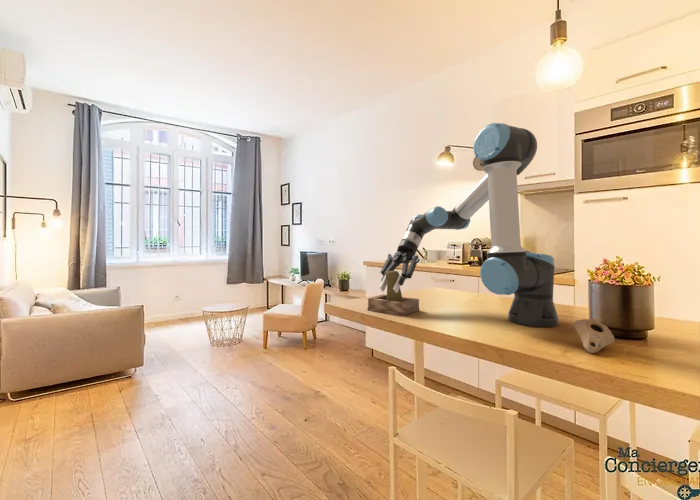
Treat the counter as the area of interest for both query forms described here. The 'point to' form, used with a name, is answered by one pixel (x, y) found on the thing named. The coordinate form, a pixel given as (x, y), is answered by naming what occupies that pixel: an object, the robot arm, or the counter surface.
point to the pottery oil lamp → (593, 334)
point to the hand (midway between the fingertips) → (388, 289)
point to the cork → (392, 286)
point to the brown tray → (393, 305)
